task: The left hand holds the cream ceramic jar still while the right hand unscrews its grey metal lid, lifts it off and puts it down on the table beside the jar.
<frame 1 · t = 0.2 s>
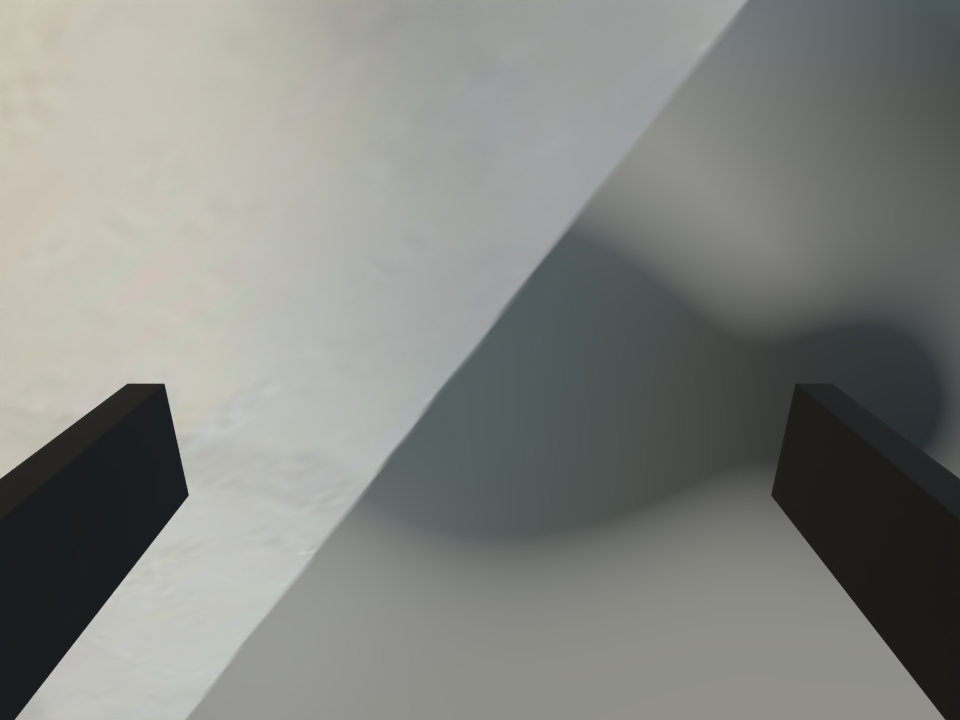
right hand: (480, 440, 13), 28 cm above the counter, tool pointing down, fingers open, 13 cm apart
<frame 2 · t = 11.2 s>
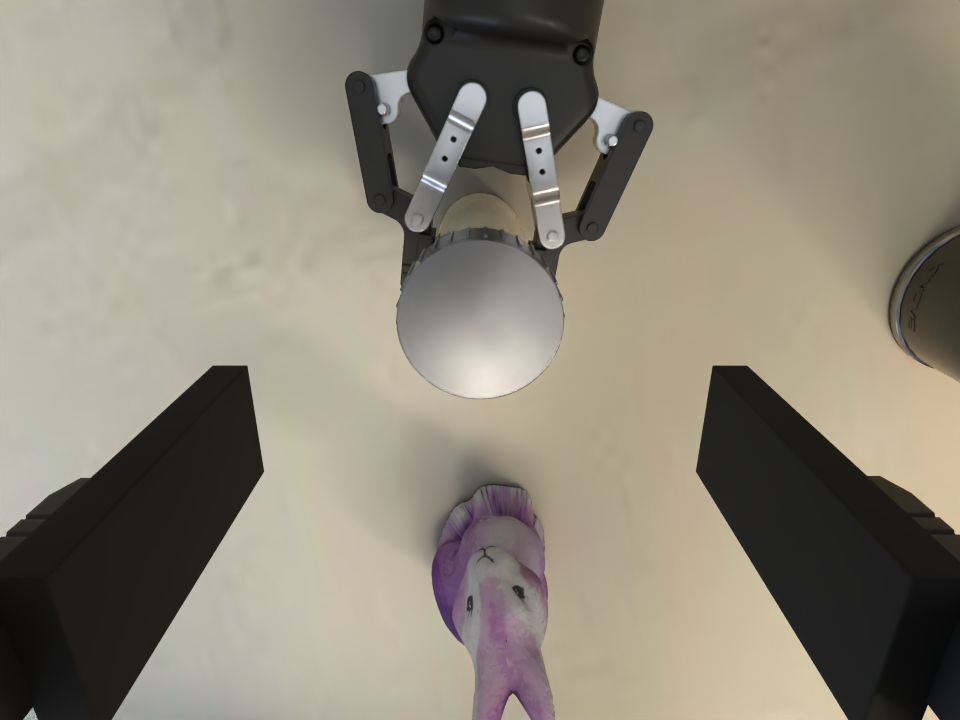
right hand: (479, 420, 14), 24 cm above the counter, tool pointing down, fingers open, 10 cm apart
left hand: (474, 308, 30), fingers closed on jar, 4 cm apart
lid: (480, 320, 20), point 17 cm above the counter, screwed on, not yet turned
jar: (480, 234, 36), on the counter, touching left hand
figurine: (488, 532, 44), on the counter
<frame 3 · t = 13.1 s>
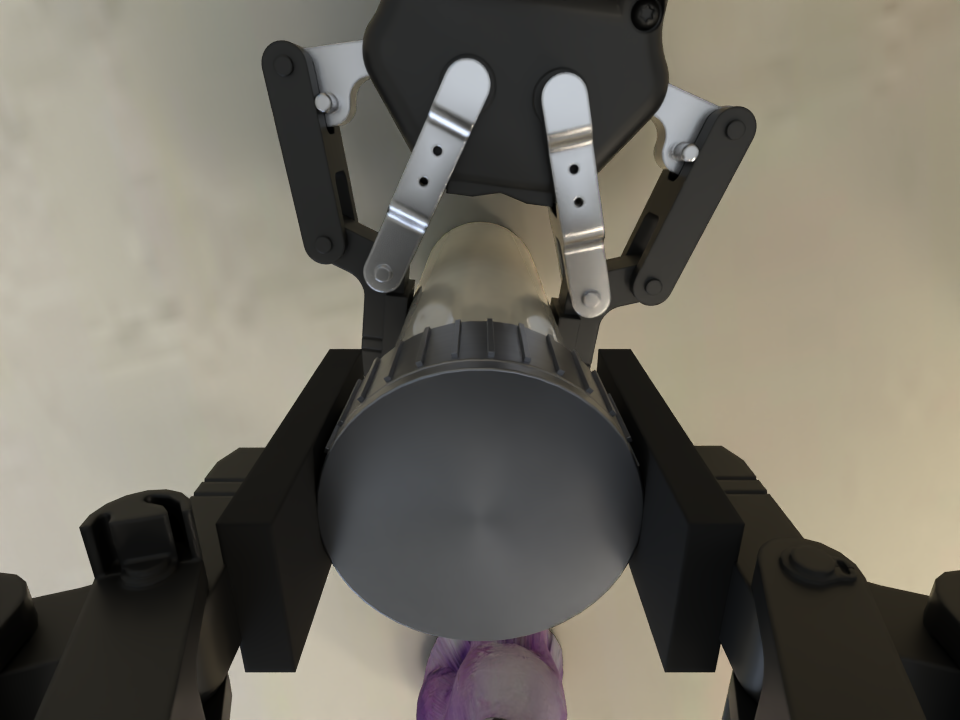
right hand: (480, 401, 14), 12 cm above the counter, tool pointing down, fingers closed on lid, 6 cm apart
left hand: (471, 397, 21), fingers closed on jar, 4 cm apart
lid: (480, 507, 10), point 17 cm above the counter, screwed on, not yet turned, touching right hand
jar: (480, 277, 26), on the counter, touching left hand
figurine: (491, 650, 34), on the counter
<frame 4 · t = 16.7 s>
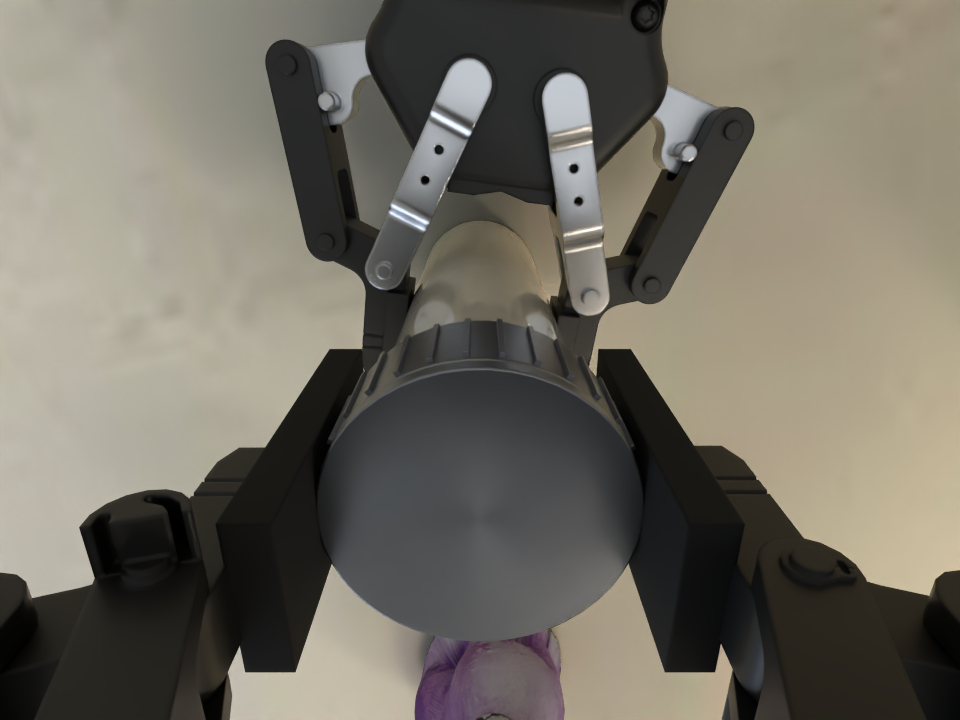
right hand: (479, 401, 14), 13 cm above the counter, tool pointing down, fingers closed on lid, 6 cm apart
left hand: (471, 394, 21), fingers closed on jar, 4 cm apart
lid: (480, 506, 10), point 17 cm above the counter, turned 129° so far, risen 0.2 cm, still on its thread, touching right hand
jar: (480, 275, 26), on the counter, touching left hand
figurine: (489, 647, 34), on the counter
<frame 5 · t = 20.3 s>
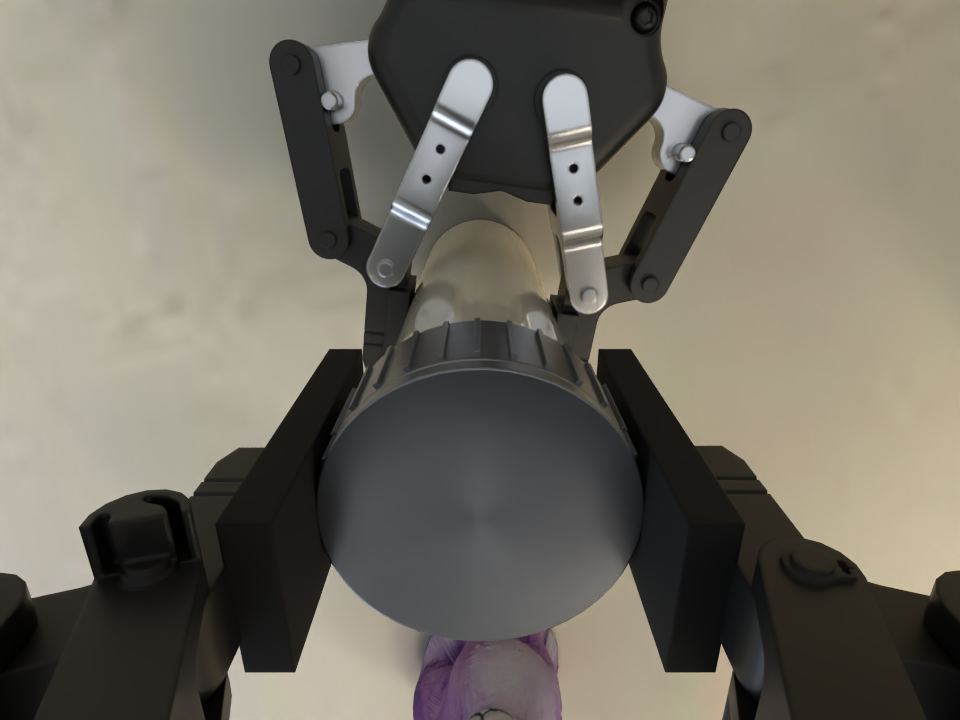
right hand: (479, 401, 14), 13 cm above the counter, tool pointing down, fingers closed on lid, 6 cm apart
left hand: (470, 391, 21), fingers closed on jar, 4 cm apart
lid: (480, 506, 10), point 17 cm above the counter, turned 257° so far, risen 0.4 cm, still on its thread, touching right hand
jar: (480, 274, 26), on the counter, touching left hand
figurine: (487, 644, 34), on the counter
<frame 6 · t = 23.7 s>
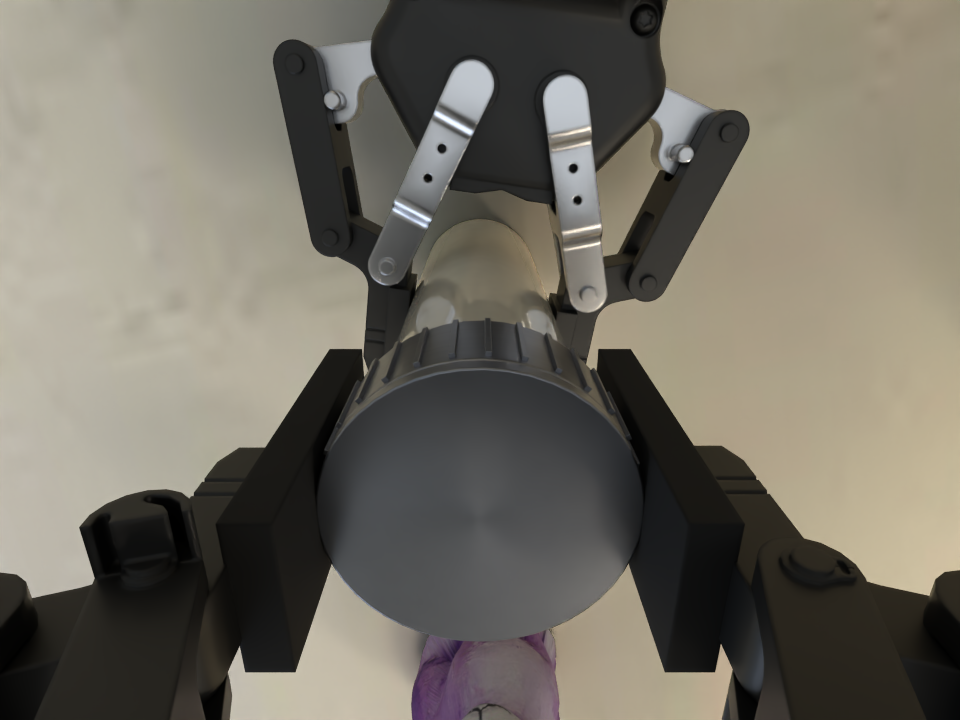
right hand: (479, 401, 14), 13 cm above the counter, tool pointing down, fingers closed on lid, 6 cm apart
left hand: (470, 389, 21), fingers closed on jar, 4 cm apart
lid: (480, 507, 10), point 17 cm above the counter, turned 386° so far, risen 0.6 cm, still on its thread, touching right hand
jar: (480, 273, 26), on the counter, touching left hand
figurine: (485, 641, 35), on the counter
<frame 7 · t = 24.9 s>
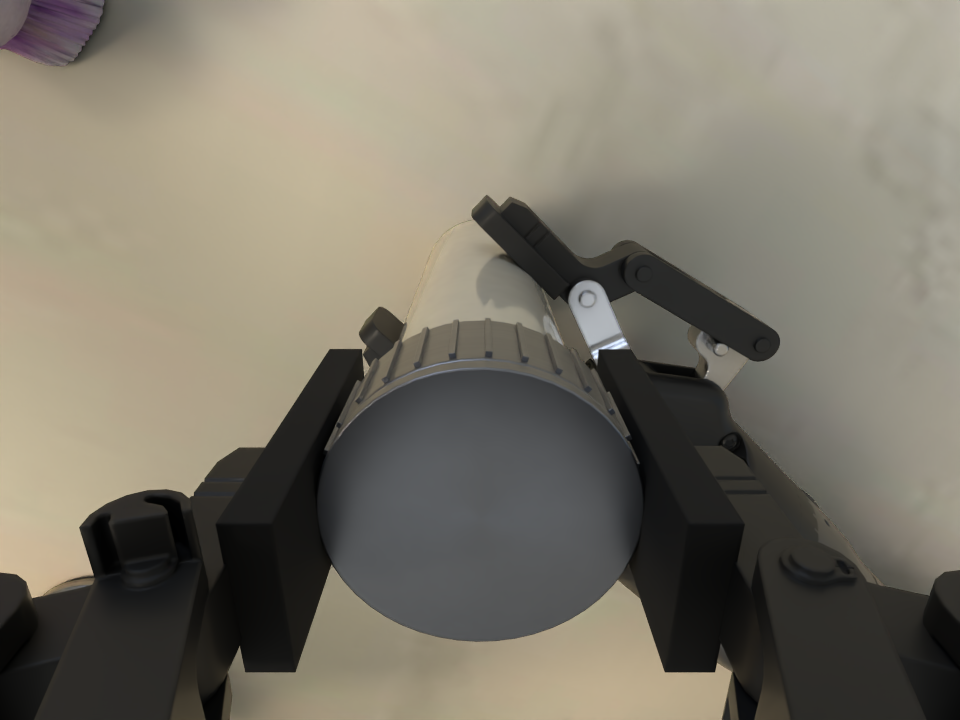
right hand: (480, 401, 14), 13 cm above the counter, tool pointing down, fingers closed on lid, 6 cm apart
lid: (480, 507, 10), point 17 cm above the counter, off its thread, touching right hand
jar: (480, 273, 27), on the counter, touching left hand
when the right hand's fingers open (0 cm above the counter, at t = 30.4 s): lid drops 2 cm, point 2 cm above the counter.
when the left hand's fingers open (7 cm above the counter, at t = 31.5 s): jar stays where it is, on the counter.
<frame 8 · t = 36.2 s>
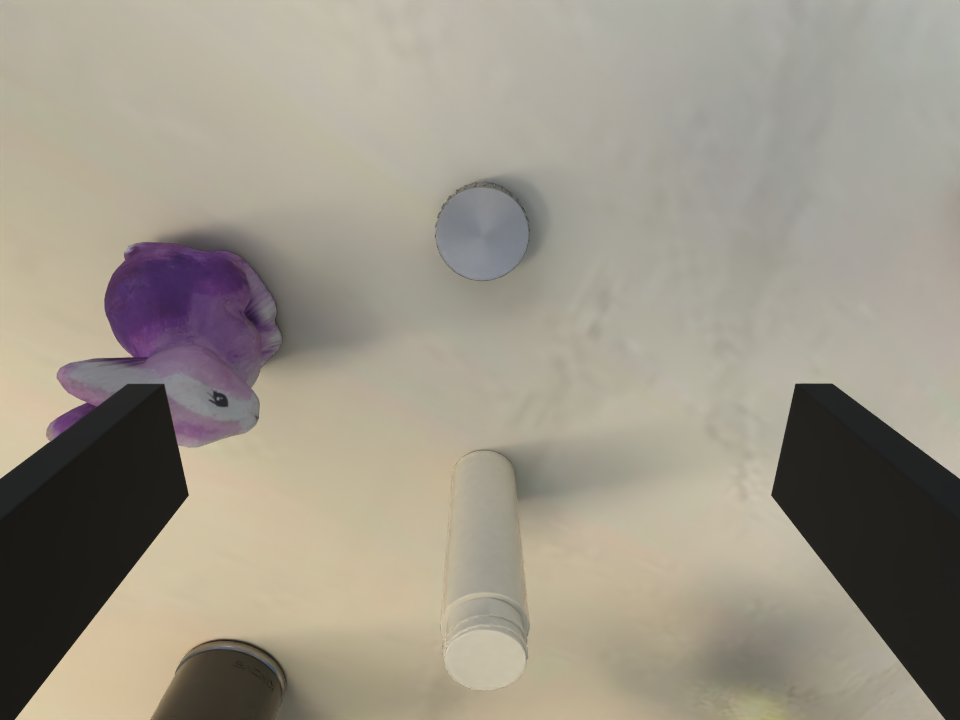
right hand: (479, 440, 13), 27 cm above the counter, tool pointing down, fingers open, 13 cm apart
lid: (482, 234, 36), point 2 cm above the counter, off its thread
jar: (483, 477, 45), on the counter
figurine: (226, 307, 40), on the counter
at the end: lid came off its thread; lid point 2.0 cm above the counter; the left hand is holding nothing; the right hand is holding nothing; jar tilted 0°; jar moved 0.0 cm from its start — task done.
